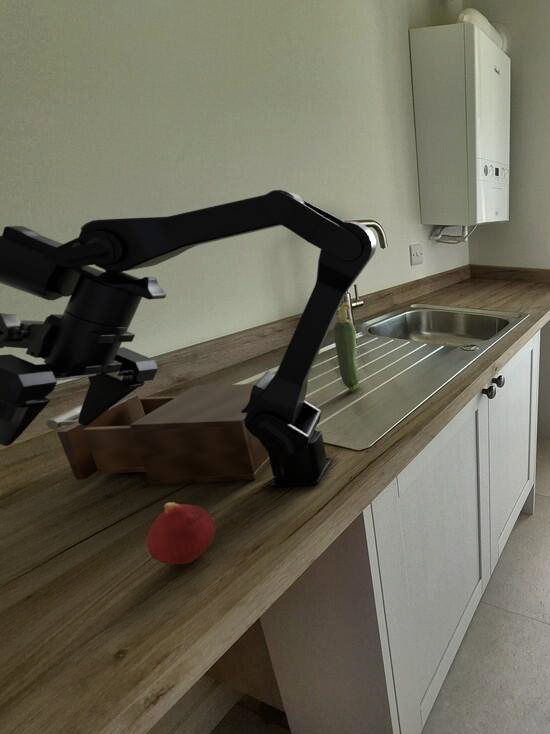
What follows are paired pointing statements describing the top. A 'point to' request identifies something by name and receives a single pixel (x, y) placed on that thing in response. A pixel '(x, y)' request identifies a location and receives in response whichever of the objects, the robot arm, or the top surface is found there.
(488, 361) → the top surface
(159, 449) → the cabinet
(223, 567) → the top surface
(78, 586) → the top surface
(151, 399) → the drawer
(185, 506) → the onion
